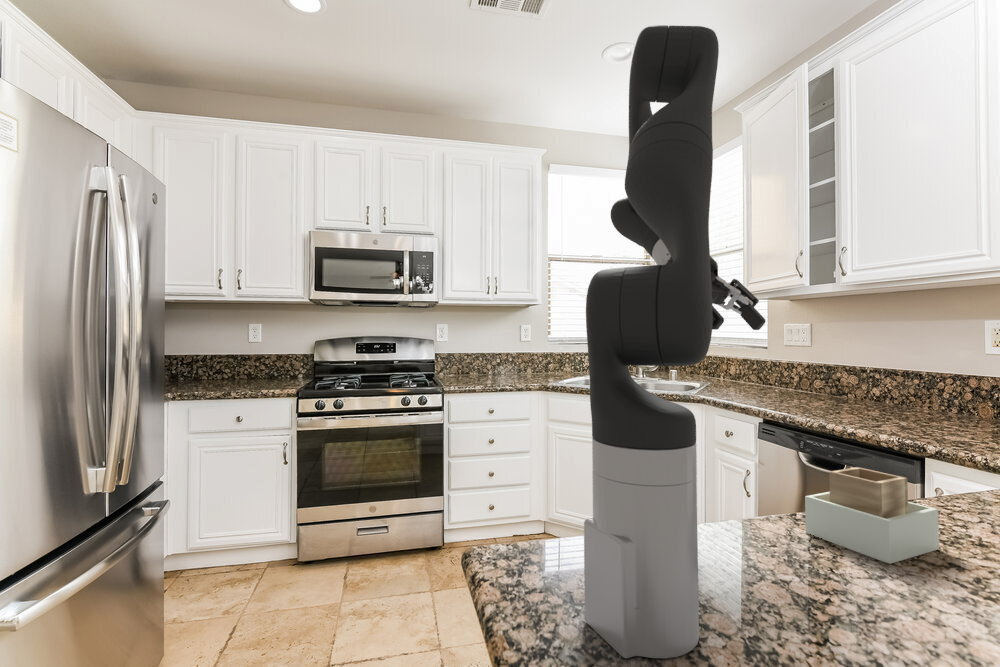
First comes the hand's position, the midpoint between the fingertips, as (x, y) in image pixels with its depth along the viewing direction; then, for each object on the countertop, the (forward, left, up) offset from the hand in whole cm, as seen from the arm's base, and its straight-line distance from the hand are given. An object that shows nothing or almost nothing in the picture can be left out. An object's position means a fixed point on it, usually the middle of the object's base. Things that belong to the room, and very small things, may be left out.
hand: (740, 325), depth 73 cm
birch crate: (+8, -13, -28) cm, 32 cm away
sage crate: (+8, -13, -29) cm, 32 cm away
